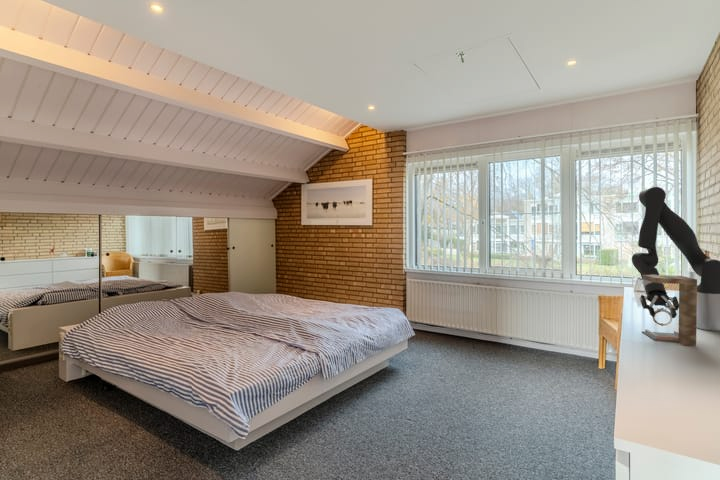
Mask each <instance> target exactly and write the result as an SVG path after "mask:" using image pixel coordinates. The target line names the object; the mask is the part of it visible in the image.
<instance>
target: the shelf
mask: <svg viewBox="0 0 720 480" xmlns="http://www.w3.org/2000/svg"><path fill="white" fill-rule="evenodd" d="M643 279H644V280H647V281H651V282H654V283H663V284H676V285H677V284H678V303H679V308H678V332H679V333H678V342H677V343H679V344H681V345H682V346H688V347H697V327H696V324H697V286H698V279H696V278H693V277H687V276H684V275H667V274H666V275H665V274H663V275H662V274H659V275H643Z"/></svg>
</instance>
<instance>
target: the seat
mask: <svg viewBox="0 0 720 480" xmlns="http://www.w3.org/2000/svg"><path fill="white" fill-rule="evenodd" d="M641 333H642V334H644V335H645V336H646V337H648V338H650V339H651V340H652V341H657V342H658V341H659V342H661V341H662V342H672V343H679V342H678V333H679V331H677V330H674V331H673V332H660V331H651V330H650V329H648V328H647V329H645V331H644V330H643V331H641Z"/></svg>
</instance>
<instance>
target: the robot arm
mask: <svg viewBox="0 0 720 480" xmlns="http://www.w3.org/2000/svg"><path fill="white" fill-rule="evenodd" d="M666 195H667V194H666V191H665V190H664V189H663V188H662V187H660V186H651V187H647V188H644V189H642V190H641V191H640V192H639V194H638V200H639V202H640V203H641V205H643V207H645V210H644V216H643V220H642V223H641V225H640V229H639V234H638V235H639V236H638V242H637V245H638V247H639V248H642V249H646V251H647V252H635V253H634V254H632V257H631V263H632V265H633V267H635V270H637V272H638V273H639V274H640V277H641V280H642V284H643V288H644V291H645V296H644V295H643V294H641V295H640V297H639V301H640V304H641V306H642V309H644V310H646V309H647V310H648V312H649V315H650V316H651V317H652V318H653V317H656V314H655V311H656V310H655V309H654V307H653V306H661V307H663V308H665V309H668V311H669V312H670V313H671V315H672V319H676V317H677V315H678V314H677V311H679V299H678V296H673V297H671V296H669V295H668V293H667V290H666V287H665V286H664V285H665V284H664V283H654V282H651V281H647V280H644V279H643V275H660V273H659V271H658V268H657V266H658V263H659V256H658V252H657V238H658V230H659V229H658V228H659V225H660V227H661V228H662V229H663V231H664V233H665V234H666V235H667V236H668V237H669V239H670V240H671V241H672V242H673V244H674V245H675V246H676V247H677V249H678V250H679V252H680V253H682V255H683V256H684V257H685V259H686V260H687V262H688V263H689V265H690V267H691V268H692V270H693V272H694V273H695V274H696V275H697V276H699V277H700V283H699V284H697V324H696V329H701V330H705V331H714V332H717V331H718V332H719V331H720V260H718V259H714V258H713V259H712V258H710V257H709V256H707V254H706V253H704V250H702V249H701V247H700V245H699V243H698V238H697V236H696V233H695V232H694V229H692V228H691V226H690V225H689V223H687V221H686V220H684V219H683V218H682V217H681V216H680V215H678V213H676V212H674V211H673V210H672V209H671V208H670V207H669V206H668V205H667V203H666V202H665V201H666ZM647 301H649V302H650V304H648V302H647Z"/></svg>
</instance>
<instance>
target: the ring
mask: <svg viewBox="0 0 720 480" xmlns="http://www.w3.org/2000/svg"><path fill="white" fill-rule="evenodd" d="M654 311H655V315H657V314H658V313H661V312H664V313H666V314H668V316H669V318H670V319H669V321H668V322H666V323H663V322H662V323H660V322H658V321H657V320H656V318H655V317H656V316H655V317H652V320H653V322H655V324H657V325H659V326H661V327H664V326H668V325H670V324H671V323H672V322H673V318H672V315H671V313H670V310H667V308H665V307H659V308H658V307H657V308H656V309H655V310H654Z"/></svg>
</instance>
